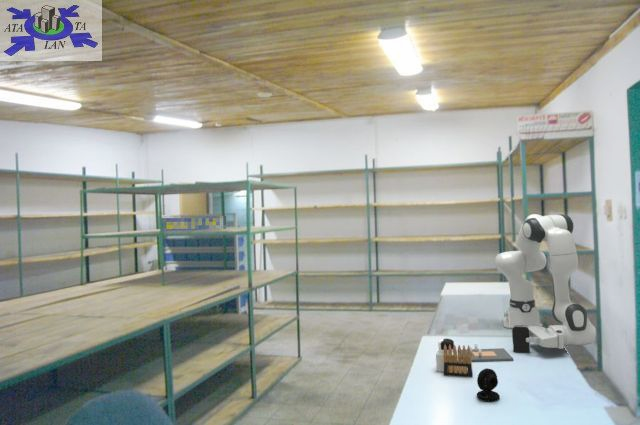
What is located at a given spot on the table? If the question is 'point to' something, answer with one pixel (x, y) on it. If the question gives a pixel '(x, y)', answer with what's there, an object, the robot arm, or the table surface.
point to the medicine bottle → (441, 353)
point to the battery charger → (520, 338)
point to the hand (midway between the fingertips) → (522, 336)
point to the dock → (488, 355)
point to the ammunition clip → (457, 362)
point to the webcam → (487, 385)
